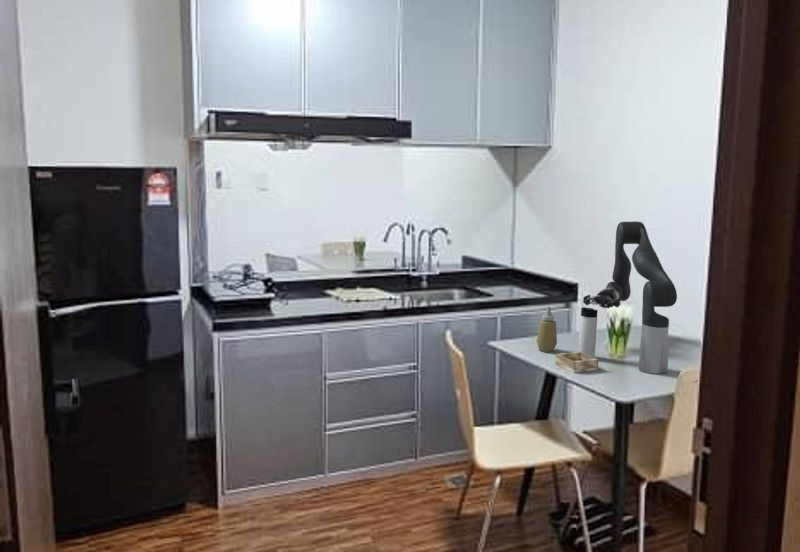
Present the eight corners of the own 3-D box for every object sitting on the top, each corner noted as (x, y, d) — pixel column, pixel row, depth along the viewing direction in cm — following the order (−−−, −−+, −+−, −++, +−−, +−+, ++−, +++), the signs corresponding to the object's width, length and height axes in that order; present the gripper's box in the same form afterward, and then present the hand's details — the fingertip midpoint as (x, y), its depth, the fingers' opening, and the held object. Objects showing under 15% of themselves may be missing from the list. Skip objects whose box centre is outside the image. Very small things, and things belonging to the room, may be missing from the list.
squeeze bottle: (546, 346, 285) (548, 304, 282) (560, 351, 278) (563, 307, 275) (531, 349, 280) (534, 306, 277) (546, 354, 274) (548, 309, 271)
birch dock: (578, 361, 264) (579, 351, 263) (597, 369, 254) (598, 359, 253) (555, 364, 259) (555, 354, 259) (573, 372, 250) (574, 362, 249)
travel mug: (574, 356, 272) (577, 306, 268) (587, 354, 274) (590, 305, 271) (584, 360, 266) (587, 309, 263) (597, 358, 269) (601, 308, 265)
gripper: (591, 286, 293) (580, 292, 279) (625, 290, 286) (615, 297, 272) (590, 303, 294) (579, 310, 281) (624, 308, 287) (614, 315, 273)
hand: (597, 304), depth 276 cm, fingers open, 8 cm apart
